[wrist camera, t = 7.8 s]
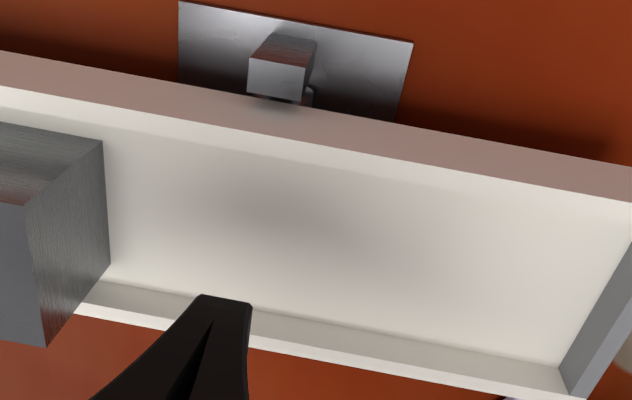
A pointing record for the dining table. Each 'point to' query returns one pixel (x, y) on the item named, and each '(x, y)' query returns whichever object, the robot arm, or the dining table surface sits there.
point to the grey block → (49, 229)
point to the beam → (349, 231)
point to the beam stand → (291, 61)
